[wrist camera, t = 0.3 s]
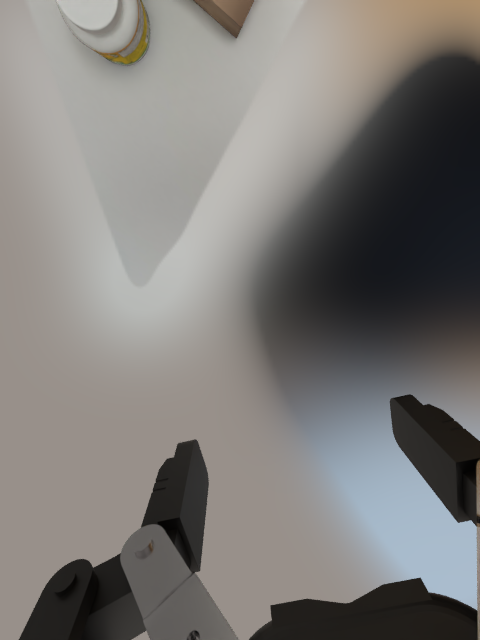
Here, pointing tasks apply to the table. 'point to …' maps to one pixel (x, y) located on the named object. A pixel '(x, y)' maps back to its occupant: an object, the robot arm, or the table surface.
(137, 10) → the supplement bottle
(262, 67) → the table surface
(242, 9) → the socket block
